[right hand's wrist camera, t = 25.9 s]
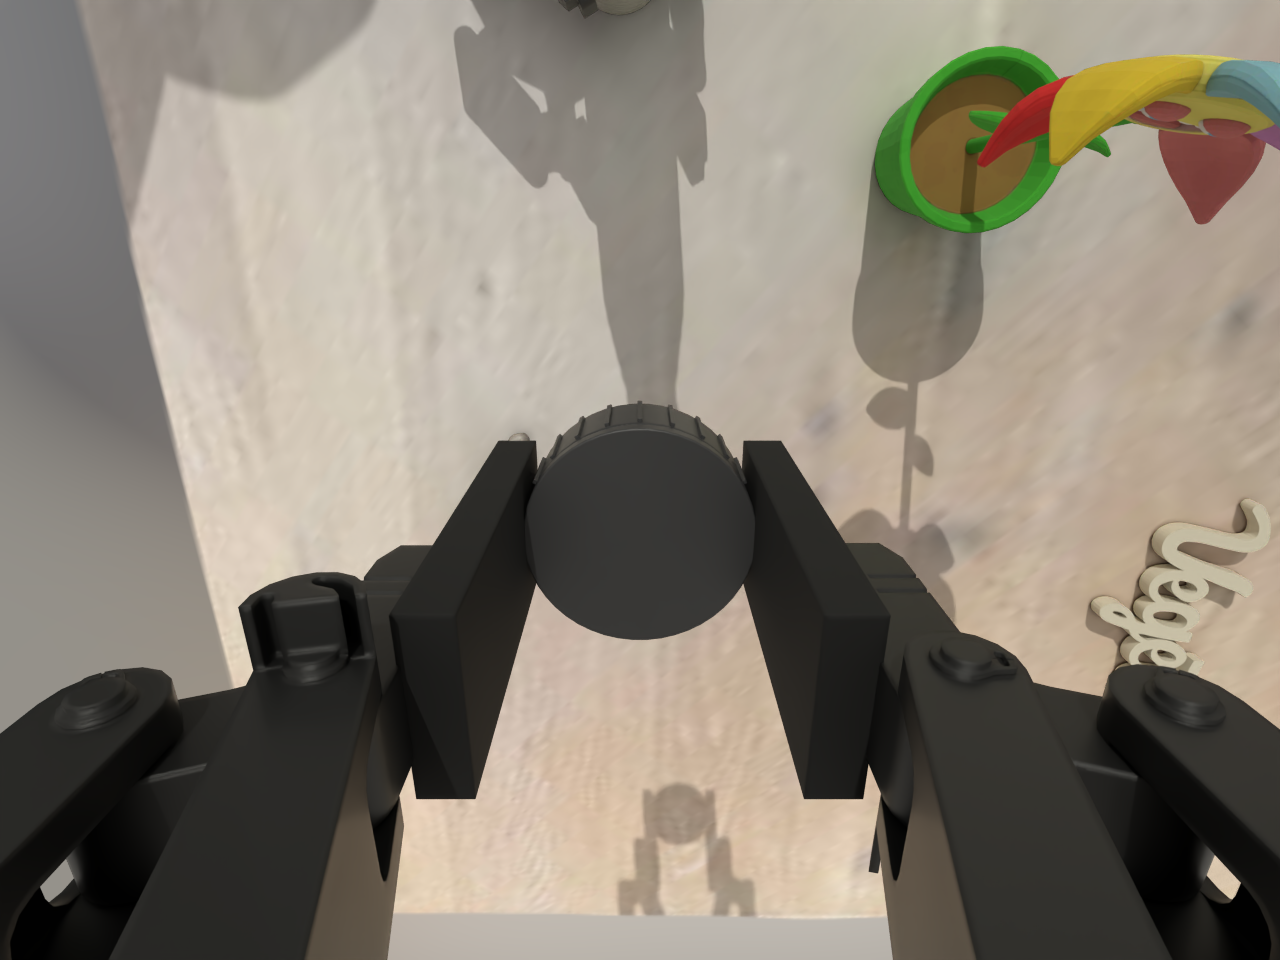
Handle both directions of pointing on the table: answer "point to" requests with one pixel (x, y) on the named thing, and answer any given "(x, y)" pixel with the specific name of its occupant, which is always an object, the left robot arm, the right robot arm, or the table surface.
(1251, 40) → the table surface
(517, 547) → the right robot arm
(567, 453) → the cap
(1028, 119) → the potted flower
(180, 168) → the table surface
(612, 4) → the bottle
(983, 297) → the table surface
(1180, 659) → the decorative sign
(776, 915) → the table surface
